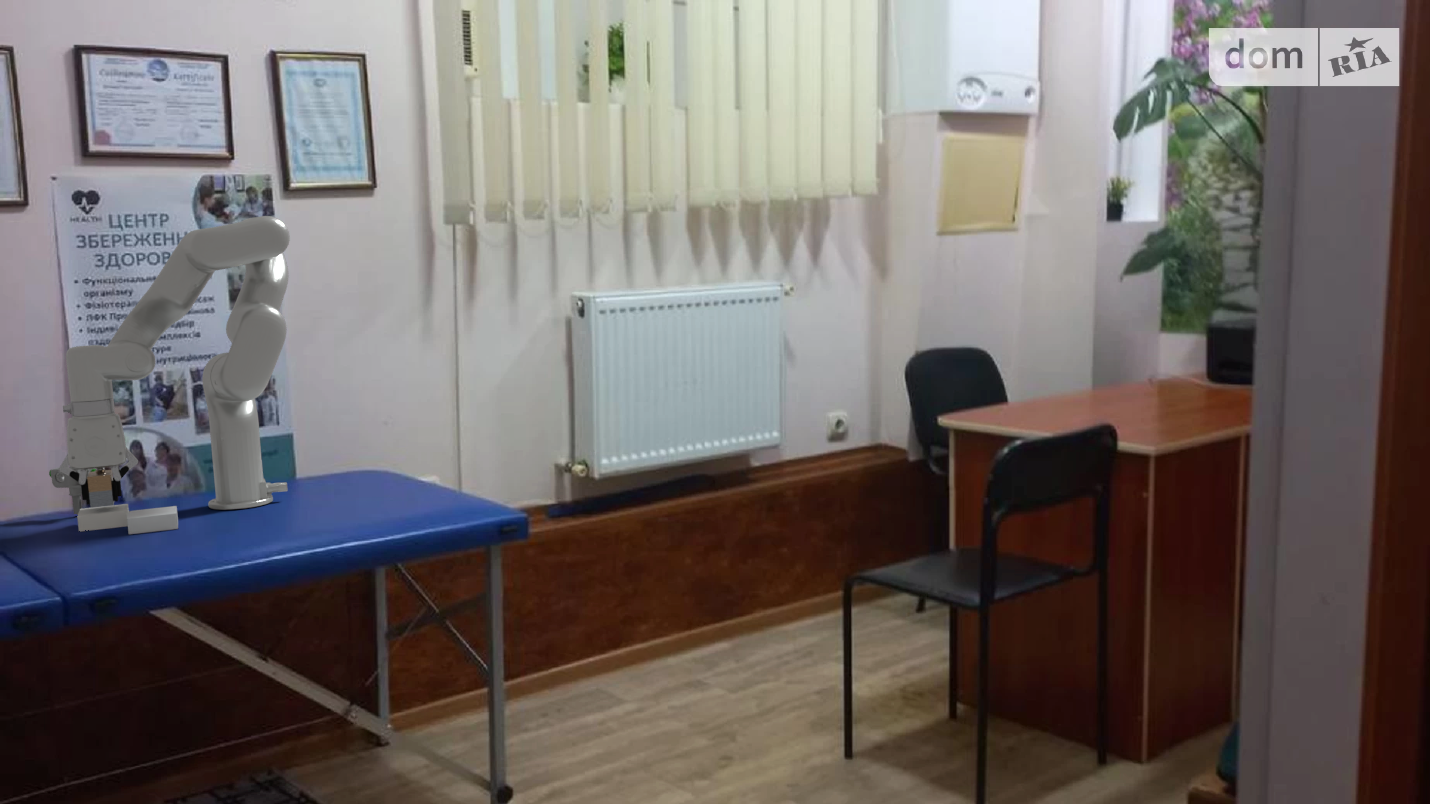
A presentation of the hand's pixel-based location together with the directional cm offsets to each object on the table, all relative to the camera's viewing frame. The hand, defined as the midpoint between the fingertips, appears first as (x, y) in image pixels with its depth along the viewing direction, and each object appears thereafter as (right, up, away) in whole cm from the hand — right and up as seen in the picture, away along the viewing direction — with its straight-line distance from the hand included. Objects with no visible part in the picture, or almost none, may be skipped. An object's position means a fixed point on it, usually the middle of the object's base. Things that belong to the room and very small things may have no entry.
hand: (102, 500), depth 251 cm
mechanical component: (-10, -4, +11) cm, 15 cm away
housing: (0, -1, 0) cm, 1 cm away
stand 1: (0, -5, 0) cm, 5 cm away
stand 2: (+12, -5, -4) cm, 14 cm away
